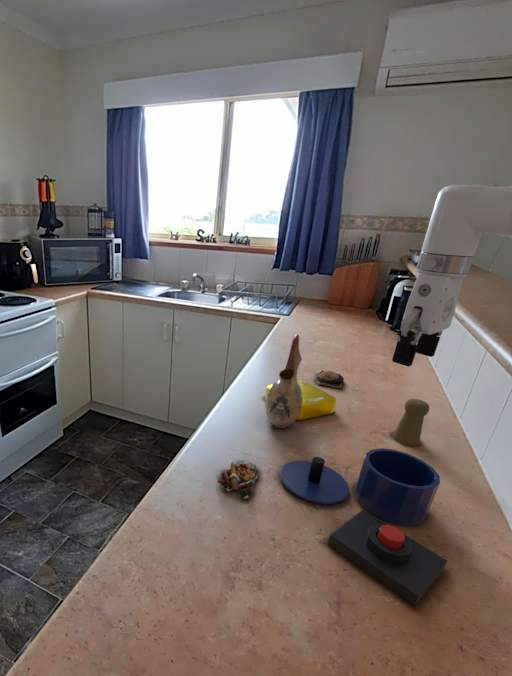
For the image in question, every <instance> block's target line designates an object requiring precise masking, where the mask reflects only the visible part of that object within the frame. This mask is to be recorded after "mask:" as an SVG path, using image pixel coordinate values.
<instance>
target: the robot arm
mask: <svg viewBox="0 0 512 676" xmlns="http://www.w3.org/2000/svg"><path fill="white" fill-rule="evenodd" d="M436 196H437V197H436V199H435V202H434V206H433V209H432V213H431V215H430V220H429V222H428V226H427V229H426V233H425V237H424V239H423V243H422V247H421V250H420V254H419V256H418V260H417V264H416V266H415V272H416V273H418V274H417V277H416V279H415V282H414V284H413V286H412V290H411V291H410V295H409V297H408V300H407V303H406V307H405V310H404V313H403V317H402V320H401V321H400V329H399V330H398V336H397V340H396V341H397V342H396V345H395V348H394V352H393V355H392V359H391V361H392V363H395V364H399V365H402V366H405V367H411V366H412V365H413V363H414V360H415V356H416V354H419V355H423V356H426V357H429V358H432V357H434V356H435V355H436V351H437V348H438V345H439V342H440V339H441V336H442V334H443V331H445V330H447V329H449V328H450V326H451V324H452V322H453V318H454V315H455V311H456V308H457V305H458V301H459V298H460V294H461V290H462V285H463V279H464V278H467V277H468V275H469V272H470V269H471V265H472V263H473V260H474V256H475V254H476V252H477V249H478V246H479V243H480V240H481V237H482V235H483V234H490V235H494V236H499V237H504V238H509V239H512V185H507V186H506V185H505V186H504V185H503V186H490V185H485V184H484V185H483V184H467V183H465V184H449V185H446V186H444V187H442V188H441V190H440V191H439V192H438V193H437V195H436Z"/></svg>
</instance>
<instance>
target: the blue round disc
mask: <svg viewBox="0 0 512 676" xmlns="http://www.w3.org/2000/svg"><path fill="white" fill-rule="evenodd" d="M325 464H326V460H325V459H324V458H322V457H321V456H313V457H312V459H311V461H309V460H294V461H290V462H287V463H286V464H284V465H283V466H282V467H281V469H280V472H279V477H280V480H281V482H282V485H283V486H284V487H285V488H286V489H287V490H288V491H289V492H291V493H292V494H294V495H295V496H296V497H299V498H300V499H303V500H305V501H308V502H312V503H316V504H319V505H320V504H321V505H335V504H339V503H341V502H343V501H345V500H346V499H347V497H348V496H349V492H350V489H349V484H348V482H347V480H346V479H345V478H344V477H343V476H342V475H341V474H340V473H338V472H337V471H336V470H334V469H333V468H331V467H329V466H326V465H325Z"/></svg>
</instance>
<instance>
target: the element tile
mask: <svg viewBox="0 0 512 676" xmlns="http://www.w3.org/2000/svg"><path fill="white" fill-rule="evenodd" d="M297 382H298V384H299V386H300V388H301V391H302V407H301V411H300V413H299V415H298V417H297V418H296V420H298V421H299V420H300V421H301V420H307V419H311V418H316V417H322V416H325V415H330V414H332V413H334V411H335V407H336V404H337V398H336V397H335V396H333V395H331V394H329V393H328V392H326V391H325V390H322V389H320V388H319V387H317V386H315V385H313V384H312V383H309V382H308V381H305V380H304V379H297ZM273 384H274V383H272V384H268V385H267V386H266V390H265V395H264V399H265V400H266V398H267V394H268V392H269V390H270V388H271V386H272V385H273Z"/></svg>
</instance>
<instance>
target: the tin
mask: <svg viewBox="0 0 512 676" xmlns="http://www.w3.org/2000/svg"><path fill="white" fill-rule="evenodd" d="M360 468H361V469H360V471H359V474H358V478H357V482H356V485H355V489H354V496H355V499H356V501H357V502H358V504H360V506H361V507H362V508H364V509H365V511H366V512H368V513H369V514H371V515H373V516H374V517H376V518H378V519H380V520H383V521H386V522H388V523H391V524H395V525H398V526H399V525H400V526H408V527H409V526H416V525H420V524H421V523H423V522H424V521H425V519H426V518H427V516H428V514H429V512H430V509H431V506H432V504H433V501H434V499H435V496H436V494H437V491H438V489H439V487H440V484H441V479H440V475H439V472H437V471H436V469H435V468H434V467H433V466H432V465H430V464H429V463H427V462H426V461H424V460H423V459H421V458H419V457H417V456H414V455H412V454H410V453H407V452H404V451H400V450H397V449H391V448H385V447H382V448H373V449H370V450H369V451H367V452H365V455H364V458H363V462H362V464H361V467H360Z"/></svg>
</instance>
